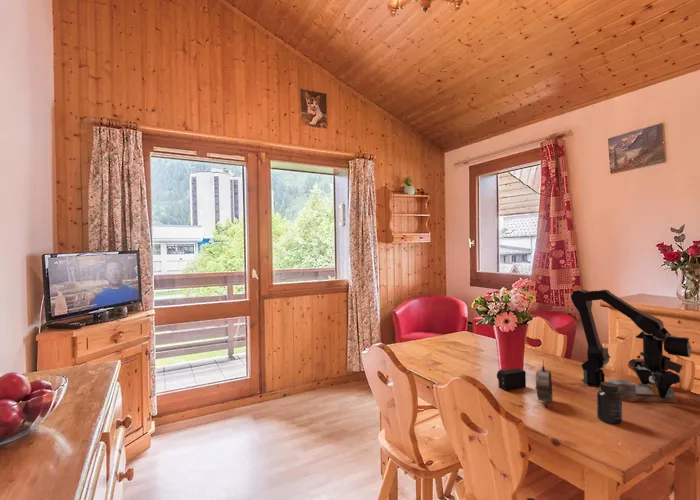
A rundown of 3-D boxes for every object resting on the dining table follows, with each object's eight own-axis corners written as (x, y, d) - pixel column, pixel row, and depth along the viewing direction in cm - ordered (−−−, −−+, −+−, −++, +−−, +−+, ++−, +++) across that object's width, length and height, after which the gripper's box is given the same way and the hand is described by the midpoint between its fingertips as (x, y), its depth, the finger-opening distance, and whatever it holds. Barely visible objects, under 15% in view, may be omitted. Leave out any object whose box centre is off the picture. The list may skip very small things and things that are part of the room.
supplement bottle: (592, 416, 121) (591, 380, 121) (610, 415, 121) (609, 379, 121) (608, 426, 114) (607, 388, 114) (628, 424, 115) (627, 387, 115)
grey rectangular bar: (631, 394, 134) (630, 386, 134) (625, 390, 137) (625, 382, 137) (670, 395, 131) (670, 387, 131) (663, 392, 135) (663, 384, 135)
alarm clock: (551, 410, 126) (550, 364, 126) (534, 406, 129) (533, 362, 129) (553, 398, 135) (552, 356, 135) (537, 396, 138) (536, 354, 138)
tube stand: (616, 399, 133) (615, 384, 133) (607, 393, 139) (606, 378, 139) (676, 402, 130) (676, 386, 130) (665, 395, 136) (664, 380, 136)
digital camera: (516, 383, 152) (515, 366, 152) (526, 387, 147) (525, 370, 147) (496, 386, 149) (496, 370, 149) (506, 391, 143) (505, 374, 144)
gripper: (697, 359, 123) (698, 404, 123) (659, 345, 142) (660, 384, 142) (661, 358, 125) (662, 403, 125) (628, 344, 144) (629, 383, 143)
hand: (653, 393), depth 134 cm, fingers open, 9 cm apart
